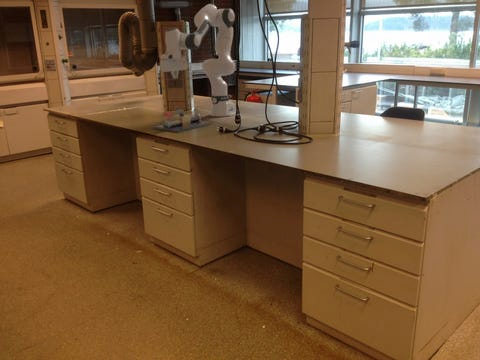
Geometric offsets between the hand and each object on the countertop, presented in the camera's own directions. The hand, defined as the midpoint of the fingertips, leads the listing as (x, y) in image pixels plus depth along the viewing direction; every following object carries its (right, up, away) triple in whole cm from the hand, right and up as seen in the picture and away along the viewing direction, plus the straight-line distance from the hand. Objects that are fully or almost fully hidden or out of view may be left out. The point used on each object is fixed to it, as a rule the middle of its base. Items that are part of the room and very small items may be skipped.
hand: (175, 78), depth 284 cm
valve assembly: (+5, -31, -2) cm, 31 cm away
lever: (+1, -26, -9) cm, 27 cm away
